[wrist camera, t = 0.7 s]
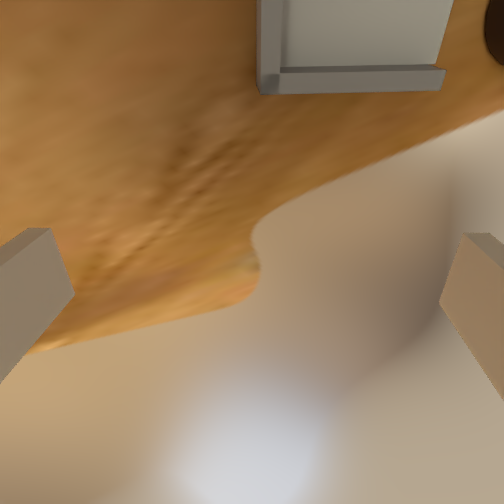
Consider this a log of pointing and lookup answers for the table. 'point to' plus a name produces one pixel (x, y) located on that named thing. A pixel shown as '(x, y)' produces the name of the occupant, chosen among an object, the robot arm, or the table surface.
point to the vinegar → (496, 29)
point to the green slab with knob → (349, 45)
